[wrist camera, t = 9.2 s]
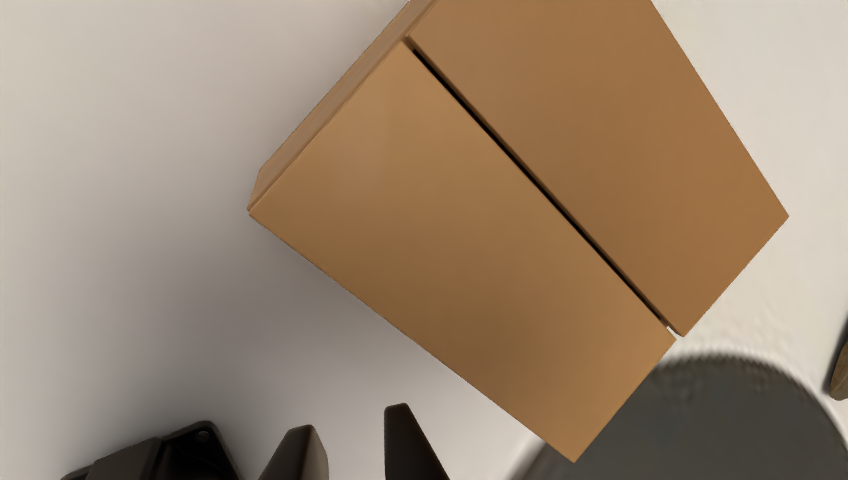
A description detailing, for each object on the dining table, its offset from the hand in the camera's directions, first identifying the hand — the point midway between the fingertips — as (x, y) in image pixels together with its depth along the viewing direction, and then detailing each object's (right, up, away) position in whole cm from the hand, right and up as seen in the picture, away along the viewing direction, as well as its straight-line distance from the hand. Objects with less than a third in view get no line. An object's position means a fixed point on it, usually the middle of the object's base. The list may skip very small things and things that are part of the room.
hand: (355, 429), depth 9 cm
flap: (+3, +2, +5) cm, 7 cm away
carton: (+3, +6, +13) cm, 15 cm away
